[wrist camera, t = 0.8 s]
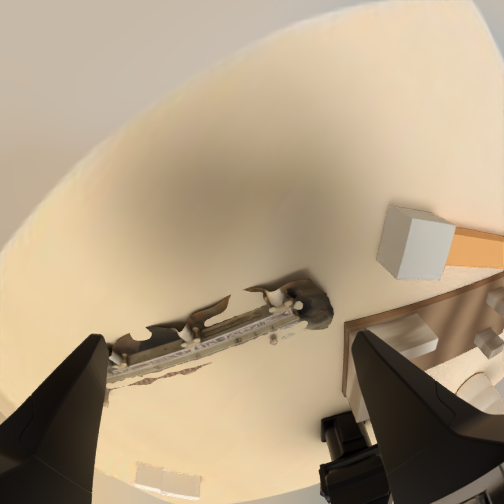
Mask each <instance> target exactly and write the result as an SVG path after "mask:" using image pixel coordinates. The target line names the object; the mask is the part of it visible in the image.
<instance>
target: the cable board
mask: <svg viewBox="0 0 504 504" xmlns="http://www.w3.org/2000/svg"><path fill="white" fill-rule="evenodd" d="M503 329H504V272H501V273H499V274H496V275H494V276H491V277H489V278H486V279H484V280H481V281H479V282H476V283H473V284H471V285H468V286H465V287H463V288H460V289H457V290H454V291H451V292H448V293H445V294H443V295H440V296H437V297H434V298H430V299H427V300H424V301H421V302H418V303H415V304H411V305H408V306H405V307H401V308H398V309H394V310H391V311H387V312H384V313H380V314H377V315H373V316H369V317H365V318H361V319H357V320H354V321H349V322H345V323H344V365H343V385H342V392H343V395H344V397H347V398H348V401H349V403H350V406H351V409H352V411H353V414H354V417H355V420H356V422H357V423H358V422H362V421H365V420H368V419H370V418H369V414H368V411H367V408H366V405H365V402H364V399H363V396H362V393H361V390H360V387H359V383H358V379H357V374H356V370H355V365H354V361H353V357H352V353H351V346H352V343H353V341H354V339H355V336H356V334H357V332H358V331H360V330H370V331H371V332H373V333H374V334H375V335H377V336H378V337H379V338H381V339H382V340H383V341H385V342H386V343H387V344H389V345H390V346H391V347H392V348H394V349H395V350H396V351H398V352H399V353H400V354H402V355H403V356H404V357H406V358H407V359H408V360H410V361H411V362H412V363H414V364H415V365H416V366H418V367H419V368H420V369H421V370H423V371H424V370H427V369H429V368H432V367H434V366H437V365H439V364H441V363H443V362H446V361H448V360H450V359H452V358H454V357H457V356H459V355H461V354H463V353H465V352H467V351H469V350H471V349H473V348H475V347H478V348H479V349H480V350H481V351H482V352H483V353H484V355H485V356H486V357H487V358H488V359H490V358H492V357H494V356H495V355H497V354H499V353H500V352H502V350H503V348H504V341H503V340H502V339H501V338H500V337H499V336H498V335H499V334H501V333H502V331H503Z"/></svg>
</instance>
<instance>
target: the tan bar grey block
mask: <svg viewBox="0 0 504 504" xmlns="http://www.w3.org/2000/svg"><path fill="white" fill-rule="evenodd" d="M376 260H377V261H378V262H379V263H381V264H382V265H383V266H384V267H385V268H386V269H387V270H388V271H389V272H390V273H391V274H392V275H393V276H394V277H395V278H396V279H401V280H440V279H441V276H442V273H443V270H444V267H445V266H463V267H481V268H500V269H504V236H500V235H495V234H490V233H485V232H479V231H474V230H469V229H463V228H457V227H456V225H454V224H452V223H450V222H448V221H446V220H445V219H443V218H441V217H439V216H437V215H435V214H433V213H431V212H425V211H420V210H414V209H408V208H402V207H396V206H389V205H388V209H387V214H386V219H385V224H384V228H383V233H382V237H381V242H380V246H379V250H378V254H377V258H376Z"/></svg>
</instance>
